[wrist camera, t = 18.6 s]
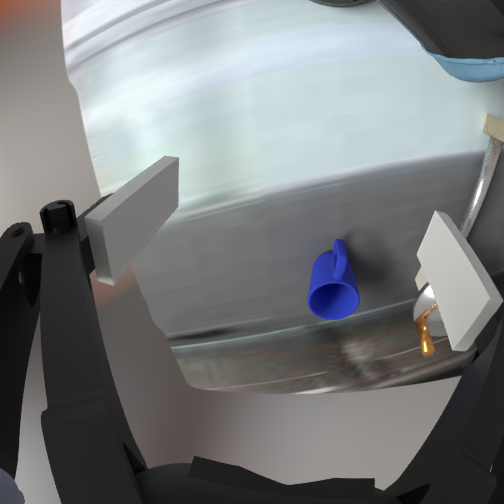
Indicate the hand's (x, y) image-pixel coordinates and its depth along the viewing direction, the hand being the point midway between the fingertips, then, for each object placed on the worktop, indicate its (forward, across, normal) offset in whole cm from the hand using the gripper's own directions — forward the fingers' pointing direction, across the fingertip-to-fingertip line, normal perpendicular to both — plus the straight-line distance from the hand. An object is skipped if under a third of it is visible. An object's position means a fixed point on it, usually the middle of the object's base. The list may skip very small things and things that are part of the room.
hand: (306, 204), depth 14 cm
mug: (+32, +9, -23) cm, 40 cm away
